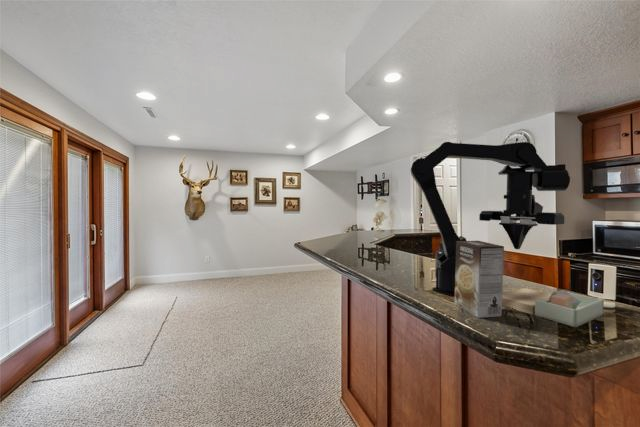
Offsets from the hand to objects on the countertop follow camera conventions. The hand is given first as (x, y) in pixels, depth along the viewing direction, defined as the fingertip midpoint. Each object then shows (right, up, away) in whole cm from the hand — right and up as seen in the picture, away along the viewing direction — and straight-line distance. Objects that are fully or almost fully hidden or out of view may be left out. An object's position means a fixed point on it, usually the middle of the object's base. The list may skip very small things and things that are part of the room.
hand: (517, 249), depth 81 cm
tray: (+4, -14, -13) cm, 19 cm away
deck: (-1, -13, -5) cm, 14 cm away
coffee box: (-16, -14, -10) cm, 23 cm away
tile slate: (+4, -12, -10) cm, 16 cm away
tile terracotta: (+1, -11, -12) cm, 16 cm away
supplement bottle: (-11, -12, +20) cm, 26 cm away
